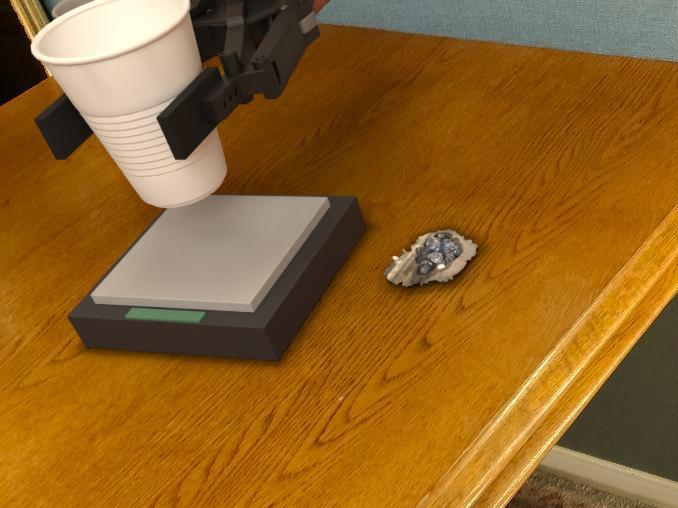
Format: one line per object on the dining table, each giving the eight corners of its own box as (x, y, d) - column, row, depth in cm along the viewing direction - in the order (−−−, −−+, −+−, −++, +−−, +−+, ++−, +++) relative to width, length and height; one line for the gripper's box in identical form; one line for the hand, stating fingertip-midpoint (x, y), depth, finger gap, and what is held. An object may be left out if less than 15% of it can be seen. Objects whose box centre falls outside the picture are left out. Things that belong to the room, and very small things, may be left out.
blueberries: (380, 299, 71) (373, 276, 70) (394, 236, 76) (387, 214, 75) (474, 288, 70) (468, 265, 69) (481, 225, 75) (476, 203, 74)
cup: (116, 243, 65) (24, 76, 57) (116, 174, 72) (34, 16, 64) (262, 199, 66) (193, 28, 58) (249, 135, 73) (185, -27, 64)
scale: (85, 347, 73) (60, 307, 70) (191, 223, 82) (173, 183, 80) (278, 361, 68) (259, 318, 65) (366, 228, 78) (353, 185, 75)
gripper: (409, 31, 75) (280, 196, 61) (171, 40, 81) (6, 192, 68) (382, -81, 69) (233, 74, 56) (129, -61, 76) (-61, 83, 62)
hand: (109, 139), depth 62 cm, fingers closed on cup, 8 cm apart
